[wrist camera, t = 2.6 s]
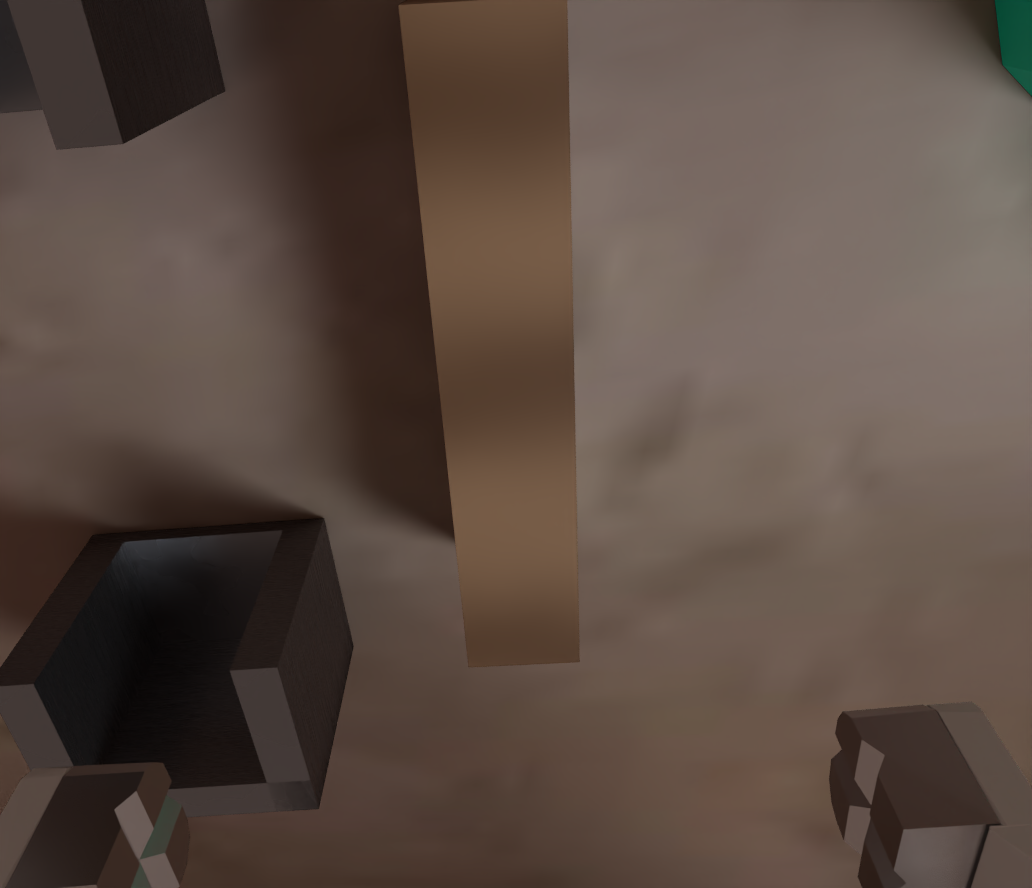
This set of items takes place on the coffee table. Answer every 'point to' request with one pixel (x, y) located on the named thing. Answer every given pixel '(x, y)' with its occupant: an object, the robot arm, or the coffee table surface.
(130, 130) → the endcap
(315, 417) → the coffee table surface
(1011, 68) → the candle
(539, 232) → the slat
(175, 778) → the endcap
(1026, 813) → the robot arm
